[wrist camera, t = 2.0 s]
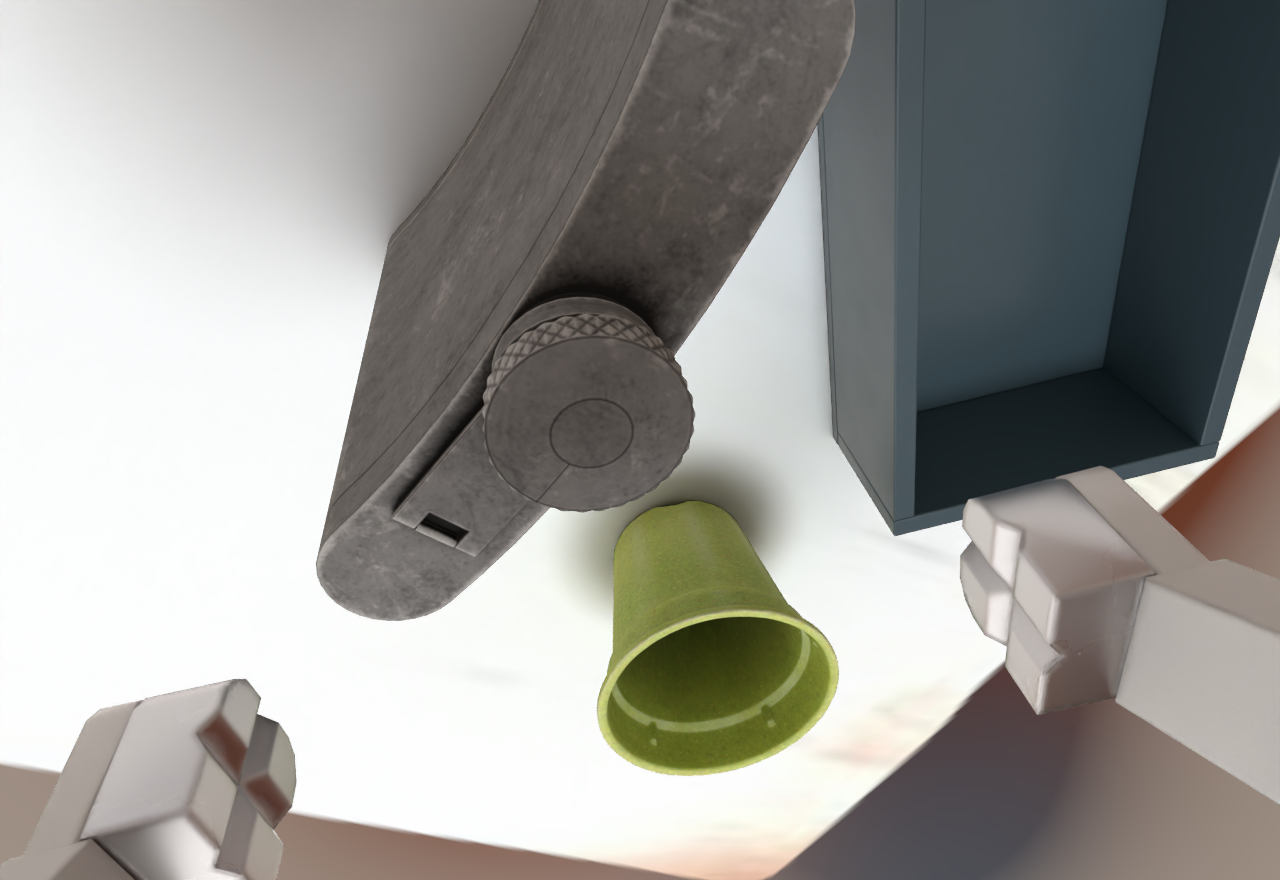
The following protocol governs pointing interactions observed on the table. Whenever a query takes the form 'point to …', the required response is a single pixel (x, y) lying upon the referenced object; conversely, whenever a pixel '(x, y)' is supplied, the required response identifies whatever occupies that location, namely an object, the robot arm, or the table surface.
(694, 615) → the plant pot
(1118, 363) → the tote
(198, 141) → the table surface
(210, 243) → the table surface
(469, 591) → the table surface
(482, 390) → the flask
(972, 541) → the robot arm
